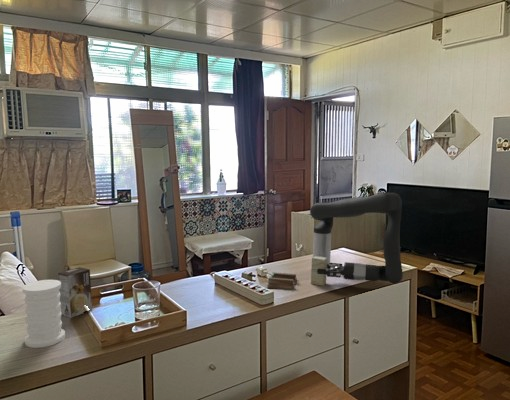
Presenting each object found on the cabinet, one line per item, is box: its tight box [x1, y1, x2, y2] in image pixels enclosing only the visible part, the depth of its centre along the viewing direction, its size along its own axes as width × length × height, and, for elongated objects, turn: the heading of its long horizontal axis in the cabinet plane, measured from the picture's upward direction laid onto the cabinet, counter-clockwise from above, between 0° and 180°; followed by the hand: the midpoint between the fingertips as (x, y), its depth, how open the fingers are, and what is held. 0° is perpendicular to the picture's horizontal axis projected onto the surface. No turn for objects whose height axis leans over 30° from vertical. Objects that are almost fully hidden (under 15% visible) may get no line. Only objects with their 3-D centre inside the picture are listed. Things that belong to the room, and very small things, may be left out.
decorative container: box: [21, 279, 66, 349], centre depth 129 cm, size 12×12×18 cm
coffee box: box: [57, 266, 93, 319], centre depth 150 cm, size 9×6×16 cm
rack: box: [266, 271, 298, 291], centre depth 184 cm, size 14×11×4 cm
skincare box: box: [310, 256, 328, 286], centre depth 185 cm, size 6×4×12 cm
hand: (318, 268), depth 185 cm, fingers open, 8 cm apart
